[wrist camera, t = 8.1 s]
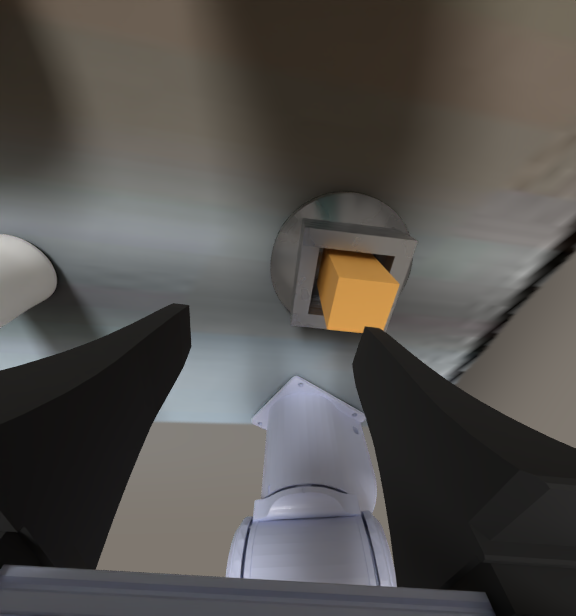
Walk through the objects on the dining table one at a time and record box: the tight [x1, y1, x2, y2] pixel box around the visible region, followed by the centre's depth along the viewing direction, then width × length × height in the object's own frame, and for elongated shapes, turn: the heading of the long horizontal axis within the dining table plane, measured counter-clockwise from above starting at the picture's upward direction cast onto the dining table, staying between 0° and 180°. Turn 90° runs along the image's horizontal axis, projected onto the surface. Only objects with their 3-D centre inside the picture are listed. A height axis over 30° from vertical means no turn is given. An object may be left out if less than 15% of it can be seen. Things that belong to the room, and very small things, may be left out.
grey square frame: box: [271, 192, 418, 332], centre depth 18 cm, size 10×10×4 cm
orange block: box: [317, 248, 400, 333], centre depth 16 cm, size 3×3×6 cm
